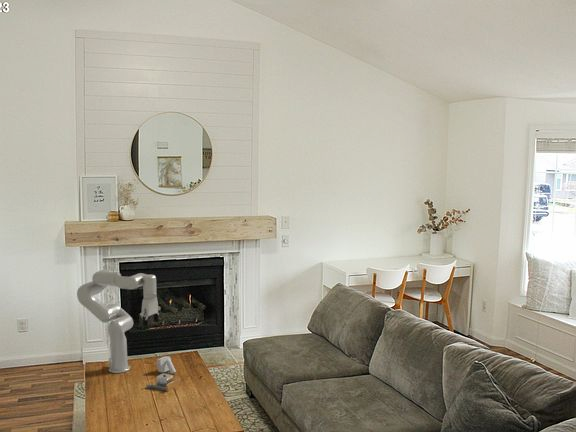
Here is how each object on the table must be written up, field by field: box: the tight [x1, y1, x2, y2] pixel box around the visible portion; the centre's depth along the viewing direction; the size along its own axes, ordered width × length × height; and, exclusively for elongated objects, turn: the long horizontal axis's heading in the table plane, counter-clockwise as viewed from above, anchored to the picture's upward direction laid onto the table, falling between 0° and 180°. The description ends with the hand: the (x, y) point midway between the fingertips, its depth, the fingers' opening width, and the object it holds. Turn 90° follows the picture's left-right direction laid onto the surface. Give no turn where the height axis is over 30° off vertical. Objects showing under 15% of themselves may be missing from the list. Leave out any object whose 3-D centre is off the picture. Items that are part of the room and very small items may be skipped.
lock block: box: [156, 372, 174, 387], centre depth 322 cm, size 7×6×7 cm
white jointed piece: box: [156, 355, 177, 375], centre depth 341 cm, size 8×10×10 cm
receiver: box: [146, 377, 182, 393], centre depth 322 cm, size 15×14×4 cm
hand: (150, 323), depth 337 cm, fingers open, 9 cm apart
